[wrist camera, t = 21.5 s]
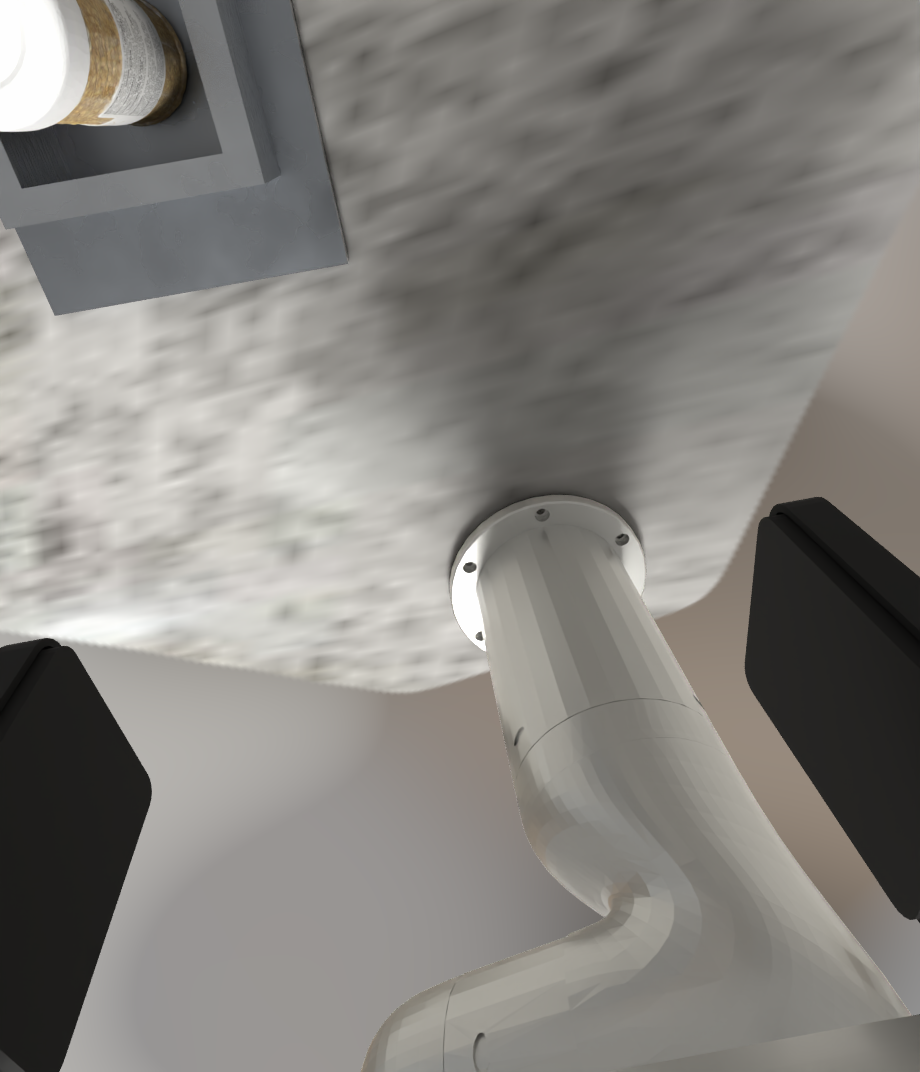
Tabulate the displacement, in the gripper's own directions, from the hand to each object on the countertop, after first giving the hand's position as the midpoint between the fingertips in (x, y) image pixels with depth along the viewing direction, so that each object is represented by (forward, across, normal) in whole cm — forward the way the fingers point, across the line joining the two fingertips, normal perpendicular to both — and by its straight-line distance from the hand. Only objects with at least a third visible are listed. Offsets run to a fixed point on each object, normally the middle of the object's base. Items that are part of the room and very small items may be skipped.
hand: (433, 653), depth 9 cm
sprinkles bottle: (+28, +9, -10) cm, 30 cm away
